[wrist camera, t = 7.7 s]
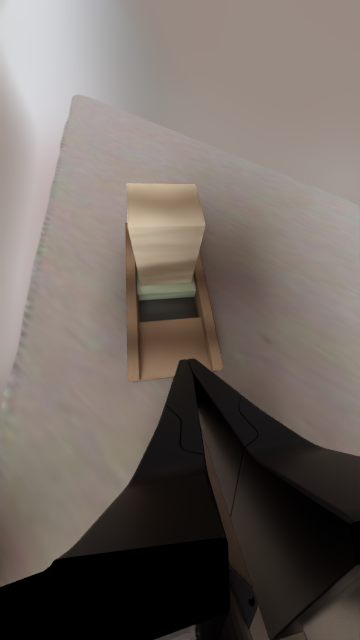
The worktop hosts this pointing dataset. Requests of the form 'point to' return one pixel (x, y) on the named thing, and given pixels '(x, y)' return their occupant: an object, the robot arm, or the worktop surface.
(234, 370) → the worktop surface
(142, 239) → the block
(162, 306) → the track
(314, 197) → the worktop surface
